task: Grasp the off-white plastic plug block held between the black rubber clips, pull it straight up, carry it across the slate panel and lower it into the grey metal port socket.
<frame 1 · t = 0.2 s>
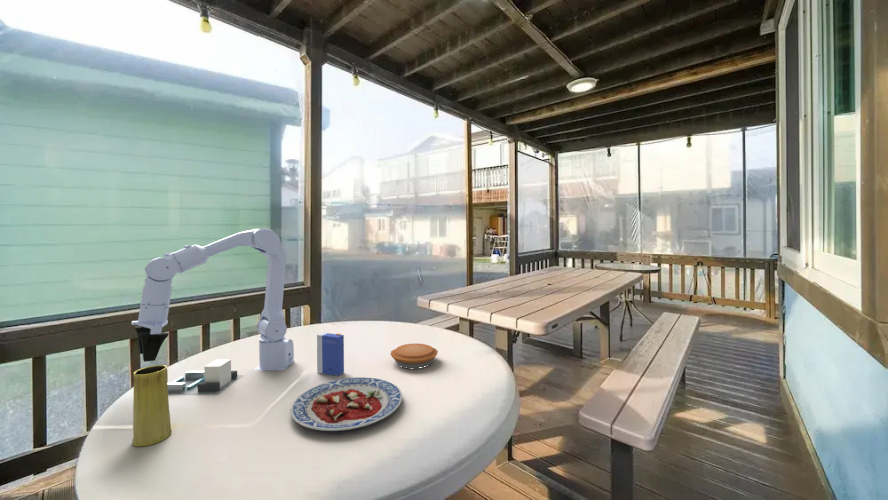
hand: (147, 357, 86), 10 cm above the table, tool pointing down, fingers open, 7 cm apart
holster: (218, 380, 93), on the panel, point 1 cm above the table
ceramic plate: (348, 408, 82), on the table
pie: (414, 363, 111), on the table
vase: (152, 439, 69), on the table
walkman: (330, 373, 103), on the table
plug: (218, 373, 93), on the panel, point 4 cm above the table
port: (185, 384, 93), resting on panel
panel: (202, 386, 93), on the table
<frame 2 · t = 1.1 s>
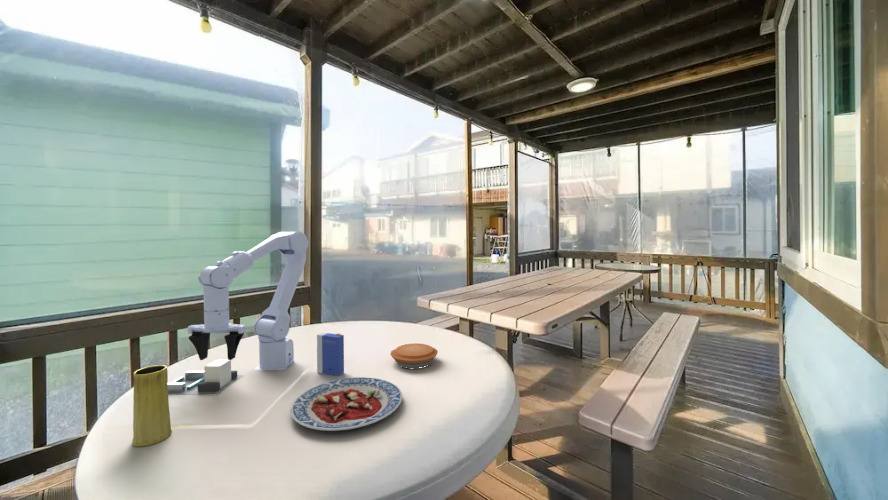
hand: (217, 358, 93), 8 cm above the table, tool pointing down, fingers open, 7 cm apart
nothing on the table moved.
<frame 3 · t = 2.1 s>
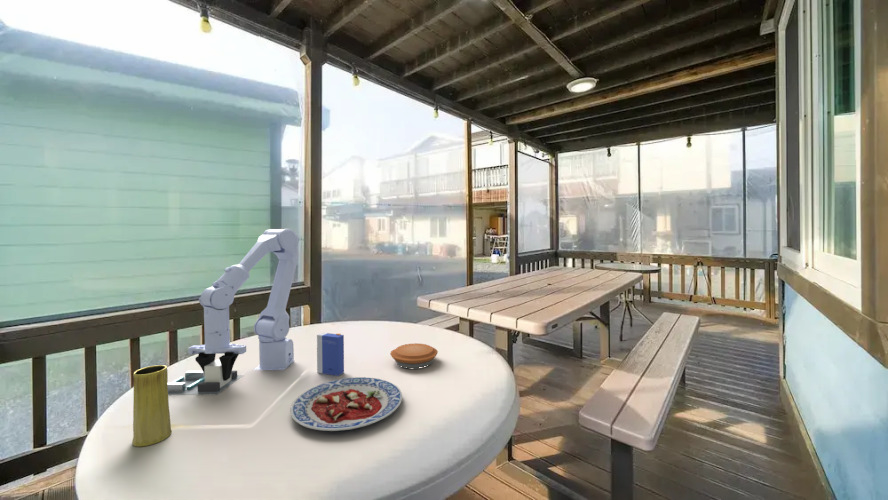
hand: (218, 379, 93), 2 cm above the table, tool pointing down, fingers closed on plug, 4 cm apart
plug: (218, 373, 93), on the panel, point 4 cm above the table, touching gripper
everything else where it was.
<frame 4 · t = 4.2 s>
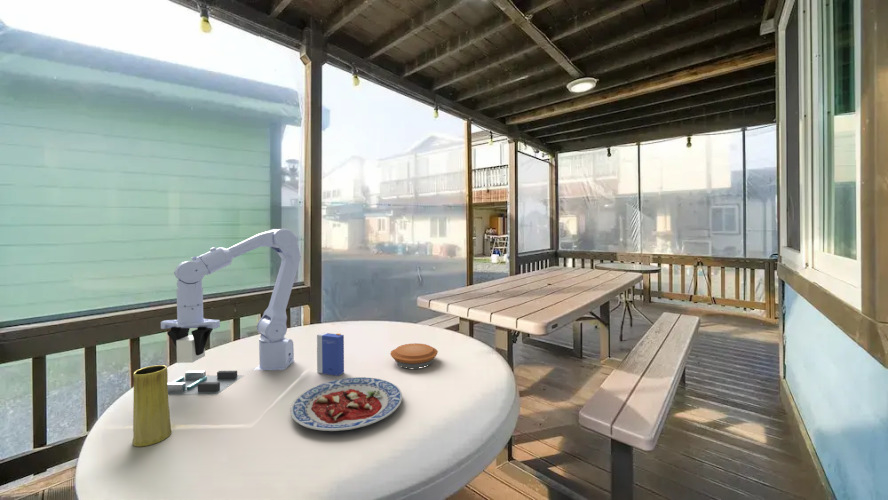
hand: (191, 354, 92), 9 cm above the table, tool pointing down, fingers closed on plug, 4 cm apart
plug: (191, 348, 92), point 11 cm above the table, touching gripper
everything else where it was.
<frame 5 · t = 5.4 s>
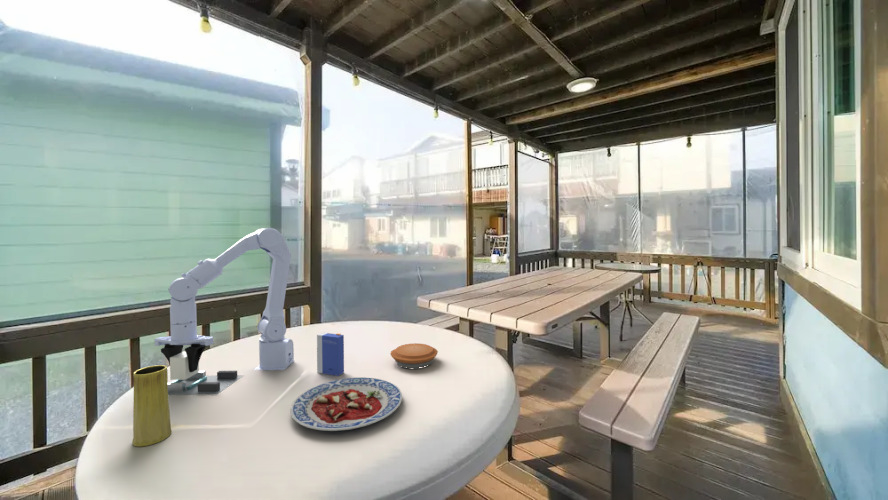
hand: (184, 370, 93), 4 cm above the table, tool pointing down, fingers closed on plug, 4 cm apart
plug: (184, 365, 92), point 6 cm above the table, touching gripper
everything else where it was.
when the fingers open (3 cm above the table, at t = 6.2 s): plug drops 1 cm, resting on panel.
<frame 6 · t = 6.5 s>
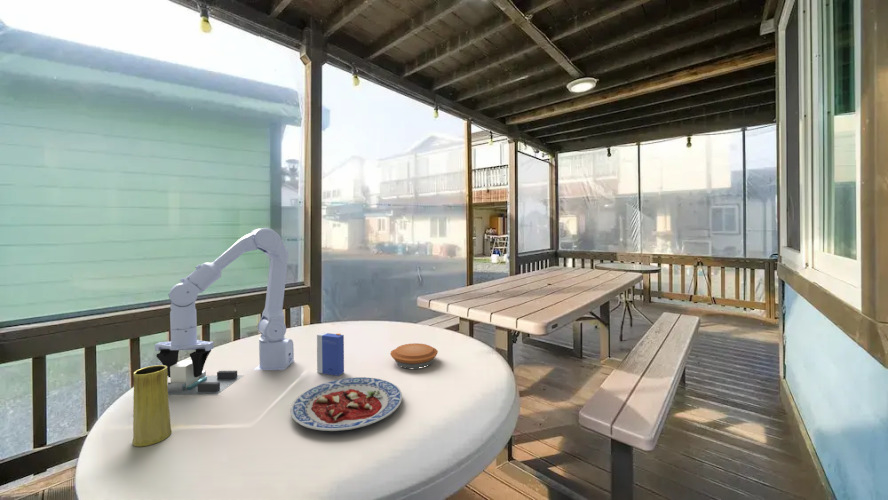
hand: (185, 375, 93), 3 cm above the table, tool pointing down, fingers open, 6 cm apart
plug: (184, 373, 93), on the panel, point 4 cm above the table
everything else where it was.
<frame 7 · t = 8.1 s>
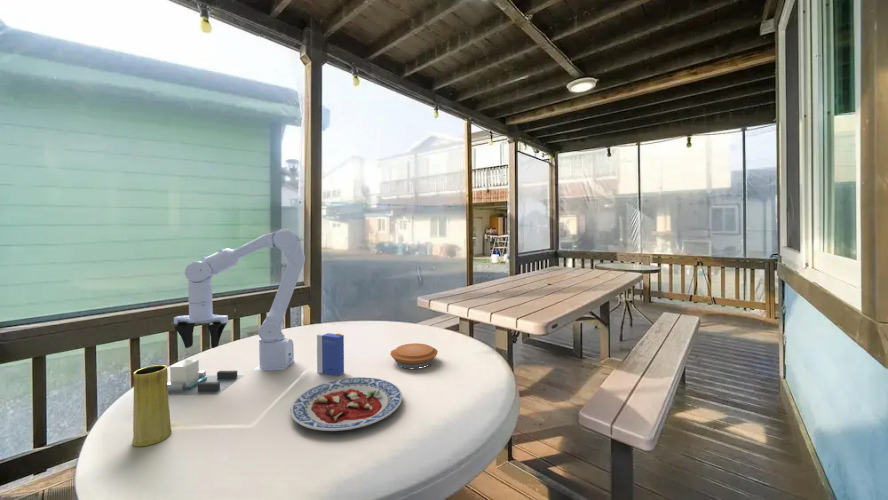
hand: (202, 346, 100), 8 cm above the table, tool pointing down, fingers open, 7 cm apart
nothing on the table moved.
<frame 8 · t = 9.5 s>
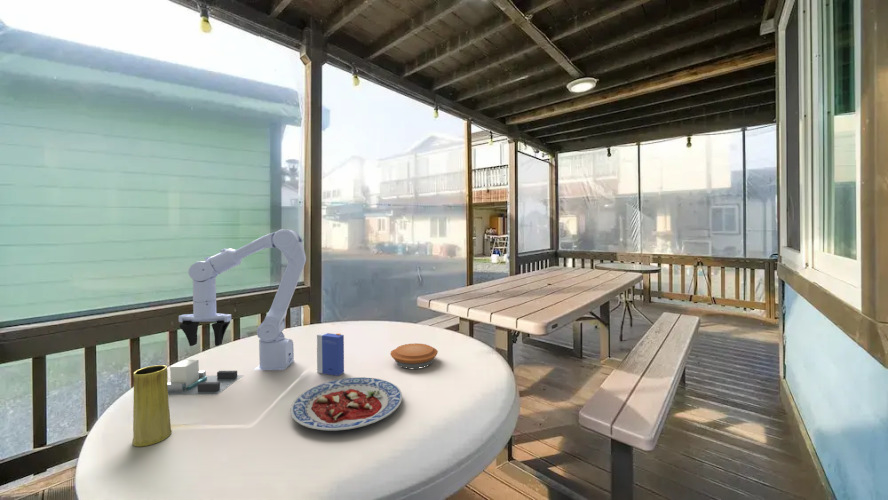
hand: (205, 345, 102), 8 cm above the table, tool pointing down, fingers open, 7 cm apart
nothing on the table moved.
at the end: plug 0.1 cm off-centre on the port, point 3.0 cm above the port's base; plug tilted 0°; the gripper is holding nothing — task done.
